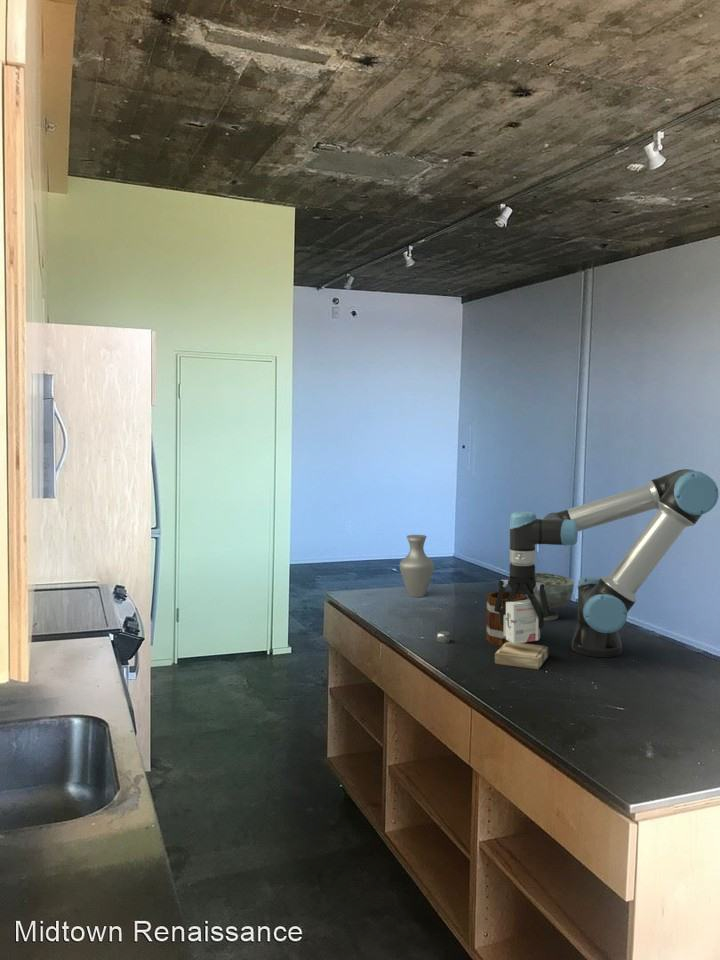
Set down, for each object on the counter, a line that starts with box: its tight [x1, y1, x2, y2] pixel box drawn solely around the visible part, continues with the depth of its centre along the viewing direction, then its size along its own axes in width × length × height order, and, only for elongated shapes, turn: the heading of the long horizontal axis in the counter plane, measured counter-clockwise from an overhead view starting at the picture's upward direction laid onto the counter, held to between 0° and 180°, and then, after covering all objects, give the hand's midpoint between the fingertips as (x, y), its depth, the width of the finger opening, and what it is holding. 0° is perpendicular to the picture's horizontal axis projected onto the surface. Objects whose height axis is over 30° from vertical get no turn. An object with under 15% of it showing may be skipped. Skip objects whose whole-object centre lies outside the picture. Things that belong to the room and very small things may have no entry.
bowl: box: [526, 572, 575, 622], centre depth 273 cm, size 20×19×15 cm
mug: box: [485, 590, 527, 647], centre depth 248 cm, size 20×14×15 cm
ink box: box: [506, 600, 538, 644], centre depth 225 cm, size 9×5×12 cm, turn 112°
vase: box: [399, 534, 435, 598], centre depth 309 cm, size 14×14×25 cm
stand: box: [494, 642, 549, 670], centre depth 225 cm, size 13×13×4 cm
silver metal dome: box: [436, 630, 450, 645], centre depth 245 cm, size 4×4×3 cm
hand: (521, 637), depth 225 cm, fingers closed on ink box, 9 cm apart
